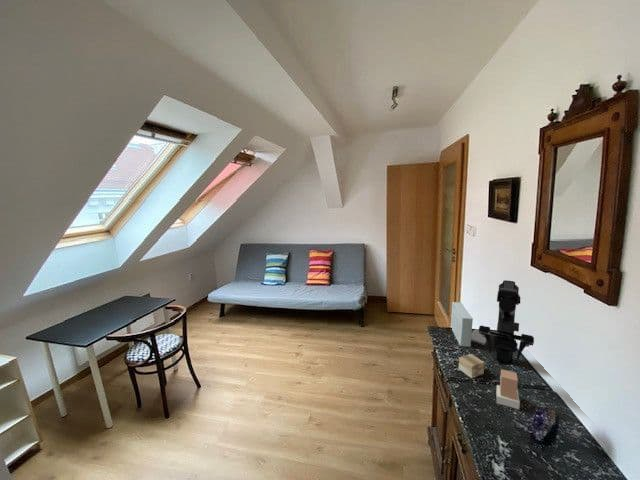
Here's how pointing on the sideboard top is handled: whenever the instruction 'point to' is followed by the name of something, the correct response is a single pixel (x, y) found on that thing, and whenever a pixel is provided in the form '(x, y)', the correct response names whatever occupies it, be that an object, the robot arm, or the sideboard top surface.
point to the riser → (507, 399)
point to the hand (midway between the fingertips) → (503, 356)
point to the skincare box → (461, 324)
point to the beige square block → (471, 363)
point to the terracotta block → (508, 384)
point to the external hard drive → (477, 337)
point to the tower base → (471, 374)
